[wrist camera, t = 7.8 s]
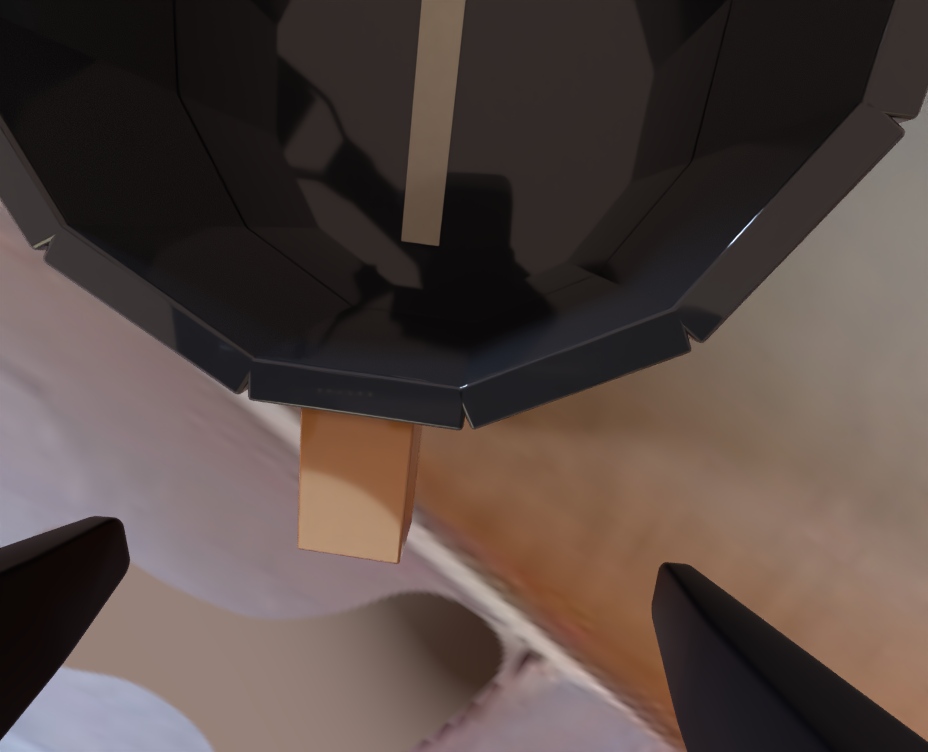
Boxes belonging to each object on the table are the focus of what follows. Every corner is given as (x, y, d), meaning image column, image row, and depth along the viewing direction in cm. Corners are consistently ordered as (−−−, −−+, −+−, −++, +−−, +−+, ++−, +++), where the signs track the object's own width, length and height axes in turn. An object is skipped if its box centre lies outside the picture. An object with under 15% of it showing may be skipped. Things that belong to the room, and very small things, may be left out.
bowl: (633, 461, 15) (729, 623, 9) (183, 396, 15) (-28, 507, 9) (834, -304, 10) (1433, -1245, 3) (143, -378, 10) (-423, -1357, 4)
